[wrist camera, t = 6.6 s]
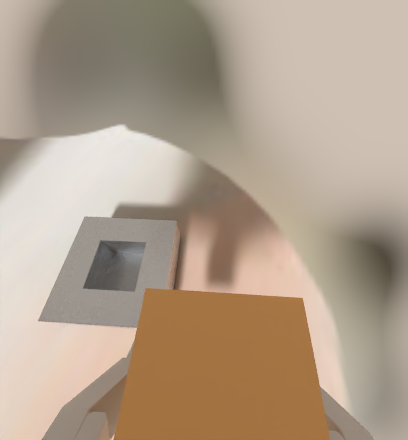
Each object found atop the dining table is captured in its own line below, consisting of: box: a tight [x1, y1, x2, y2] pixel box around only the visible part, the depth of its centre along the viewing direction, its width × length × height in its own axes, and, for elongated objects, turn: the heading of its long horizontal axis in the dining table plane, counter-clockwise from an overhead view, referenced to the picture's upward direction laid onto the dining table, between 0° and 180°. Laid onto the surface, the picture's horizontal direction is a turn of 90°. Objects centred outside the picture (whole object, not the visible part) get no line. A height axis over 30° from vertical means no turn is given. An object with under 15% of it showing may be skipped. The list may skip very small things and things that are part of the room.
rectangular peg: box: [114, 288, 330, 440], centre depth 9 cm, size 4×4×14 cm
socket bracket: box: [38, 217, 181, 328], centre depth 23 cm, size 12×12×5 cm
